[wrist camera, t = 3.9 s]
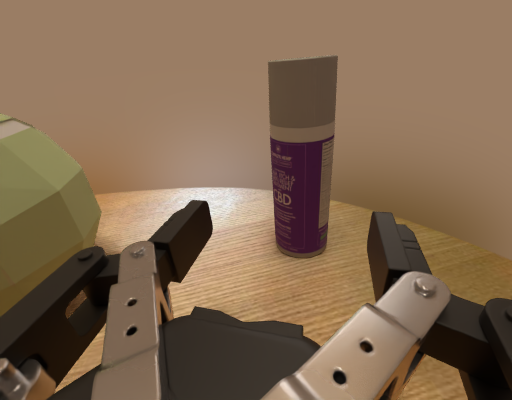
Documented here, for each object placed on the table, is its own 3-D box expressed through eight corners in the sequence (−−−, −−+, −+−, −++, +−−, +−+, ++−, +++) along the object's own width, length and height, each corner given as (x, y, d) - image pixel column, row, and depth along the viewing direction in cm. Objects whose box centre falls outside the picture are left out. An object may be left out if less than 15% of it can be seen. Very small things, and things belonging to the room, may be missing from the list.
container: (267, 250, 23) (253, 63, 16) (286, 222, 27) (281, 59, 19) (319, 264, 21) (330, 56, 14) (331, 232, 25) (345, 54, 17)
